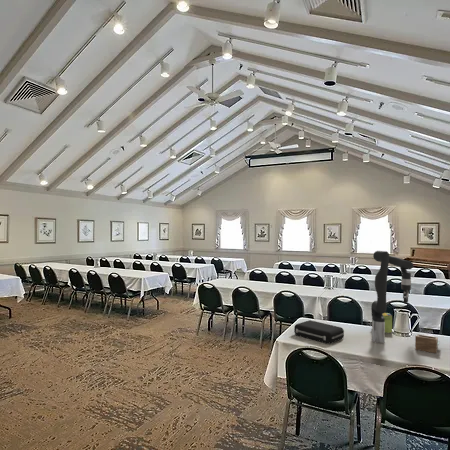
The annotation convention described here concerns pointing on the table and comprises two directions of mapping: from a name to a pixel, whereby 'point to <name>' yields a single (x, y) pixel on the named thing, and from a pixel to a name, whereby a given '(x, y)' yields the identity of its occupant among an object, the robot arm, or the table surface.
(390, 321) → the protein box
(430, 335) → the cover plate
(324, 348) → the table surface
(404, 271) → the robot arm
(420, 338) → the walnut box
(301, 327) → the briefcase
